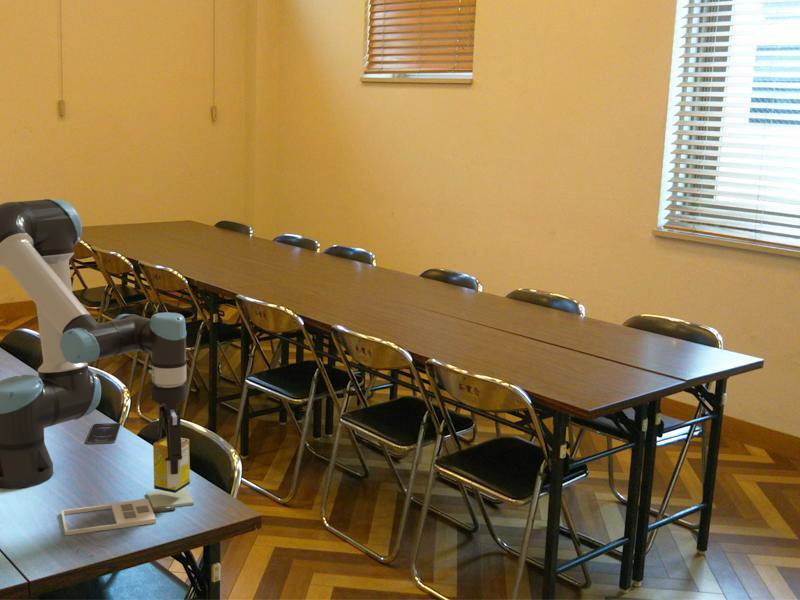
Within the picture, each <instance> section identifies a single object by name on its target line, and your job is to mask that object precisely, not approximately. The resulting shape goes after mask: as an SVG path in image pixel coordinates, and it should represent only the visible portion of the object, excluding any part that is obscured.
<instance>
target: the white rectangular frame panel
mask: <svg viewBox="0 0 800 600" xmlns="http://www.w3.org/2000/svg"><path fill="white" fill-rule="evenodd" d="M109 509H111V511H112V515H113V518H114V521H115V523H113V524H106V525H98V526H91V527H90V526H89V527H83V528H74V529H68V526H67V522H66V517H65V515H70V514H77V513H78V514H79V513H85V512H92V511H93V512H95V511H102V510H109ZM169 511H176V507H175V506H170V507H162V508H154V509H153V508H152V506H151V503H150V501H149V499H148V498H145V499H143V498H142V499H135V500H127V501H120V502H118V501H117V502H111V503H110V504H101V505H93V506H85V507H77V508H69V509H63V510H61V509H60V514H61V520H62V527H63V531H64V535H65V536H70V535H77V534H85V533H86V534H87V533H92V532H93V533H94V532H98V531H99V532H100V531H107V530H114V529H121V528H122V529H123V528H129V527H130V528H131V527H136V526H145V524H146V525H151V524H152V523H153V524H157V518H156V515H155V513H160V512H161V513H162V512H169ZM153 524H152V525H153Z"/></svg>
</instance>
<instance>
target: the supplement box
mask: <svg viewBox="0 0 800 600" xmlns="http://www.w3.org/2000/svg"><path fill="white" fill-rule="evenodd" d="M152 443H153V444H152V447H153V451H152V452H153V456H152V457H153V488H154V489H155V490H163V491H168V492H173V493H176V492H178V491H179V490H181V489H182V488H184V487H187V486H188V485H190V484H191V479H190V478H191V476H190V474H191V471H190V470H191V468H190V467H191V466H190V465H191V464H190V439H189V438H185V437H184V438H183V437H181V452H182V459H181V460H180V486H178V487H170V488H168V487H167V461H165V458H168V450H167V438H166V437H165V438H163V439H161V440H160V439H159V440H157V441H155V442H152Z"/></svg>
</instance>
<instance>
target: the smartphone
mask: <svg viewBox="0 0 800 600" xmlns="http://www.w3.org/2000/svg"><path fill="white" fill-rule="evenodd" d="M121 426H122V425H121V423H119V422H117V423H111V422H110V423H94V424H92V426H91V428H90V431H89V433H88V435H87V438H86V441H85V442H86V444H88V445H104V444H105V445H108V444H109V445H110V444H114V443H116V441H117V438H118V435H119V432H120V429H121Z"/></svg>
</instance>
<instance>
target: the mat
mask: <svg viewBox="0 0 800 600" xmlns="http://www.w3.org/2000/svg"><path fill="white" fill-rule="evenodd" d="M146 496H147V499H148V498H149V499H148V500H149V503H150V505H151V508H152V509H154V508H162V507H170V506H175V508H177V507H178V508H179V507H185V506H191V505H195V502H194V500H193V498H192V496H191V493H189V490H188V487H187V486H185V487H184V488H182V489H181V490H179V491H178V492H176V493H173V492H168V491H163V490H158V489H155V490H150V491H146Z"/></svg>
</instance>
